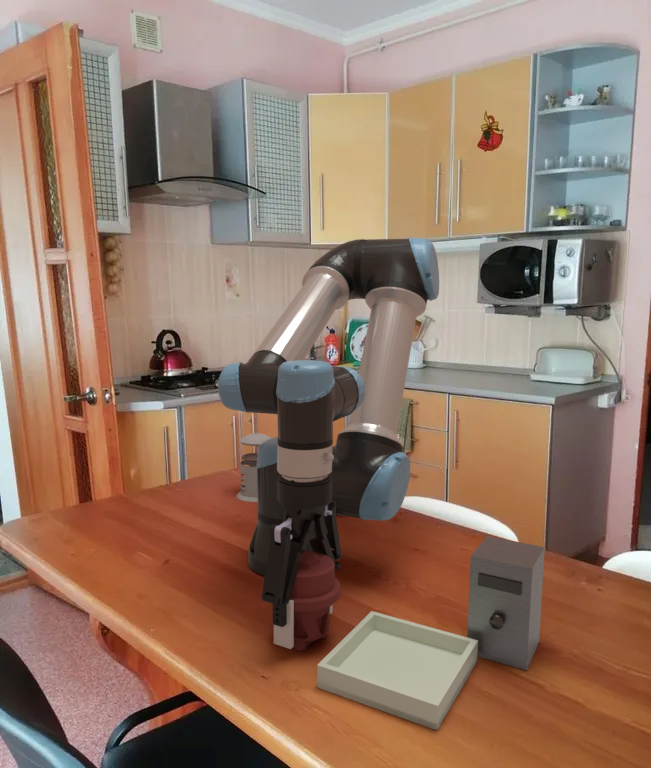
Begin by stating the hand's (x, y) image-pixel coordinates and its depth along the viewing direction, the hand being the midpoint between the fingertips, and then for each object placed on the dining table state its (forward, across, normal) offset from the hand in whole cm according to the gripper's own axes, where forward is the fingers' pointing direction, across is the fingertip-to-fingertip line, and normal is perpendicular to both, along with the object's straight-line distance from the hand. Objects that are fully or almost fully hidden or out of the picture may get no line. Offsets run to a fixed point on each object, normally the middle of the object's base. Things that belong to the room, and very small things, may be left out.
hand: (304, 627), depth 89 cm
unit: (+2, +12, -25) cm, 28 cm away
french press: (+2, +50, +44) cm, 67 cm away
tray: (+2, -1, -15) cm, 15 cm away
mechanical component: (+2, 0, 0) cm, 2 cm away
